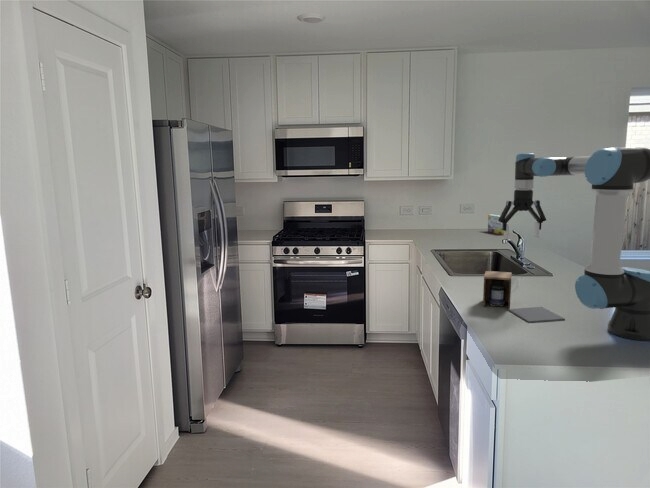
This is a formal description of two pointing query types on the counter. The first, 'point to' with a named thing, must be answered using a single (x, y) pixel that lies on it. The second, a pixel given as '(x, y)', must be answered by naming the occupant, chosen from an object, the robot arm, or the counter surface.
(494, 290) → the pill bottle
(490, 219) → the snack box
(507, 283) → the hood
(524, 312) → the mat
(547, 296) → the counter surface
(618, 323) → the robot arm
